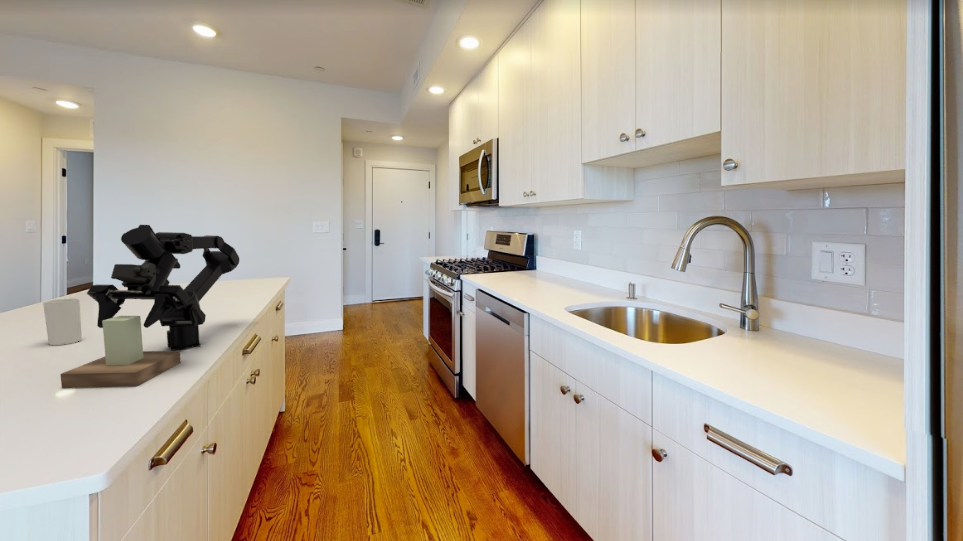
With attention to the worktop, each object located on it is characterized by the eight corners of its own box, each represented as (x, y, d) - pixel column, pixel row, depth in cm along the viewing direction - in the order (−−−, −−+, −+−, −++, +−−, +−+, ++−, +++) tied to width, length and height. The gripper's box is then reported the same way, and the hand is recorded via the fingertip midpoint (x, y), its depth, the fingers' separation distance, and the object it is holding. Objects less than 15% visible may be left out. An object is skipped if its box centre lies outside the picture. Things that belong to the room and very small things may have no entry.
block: (122, 358, 87) (118, 315, 86) (143, 357, 88) (140, 315, 86) (106, 365, 83) (102, 320, 81) (128, 364, 83) (124, 320, 82)
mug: (83, 342, 106) (80, 300, 105) (47, 347, 101) (43, 303, 100) (81, 335, 113) (77, 295, 112) (47, 339, 108) (42, 298, 107)
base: (117, 363, 91) (116, 351, 91) (180, 362, 93) (180, 350, 93) (61, 387, 78) (60, 373, 77) (137, 386, 79) (136, 372, 79)
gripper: (90, 249, 86) (46, 307, 77) (179, 251, 89) (147, 307, 79) (121, 279, 95) (85, 334, 85) (201, 279, 97) (175, 333, 88)
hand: (122, 326), depth 84 cm, fingers open, 9 cm apart
